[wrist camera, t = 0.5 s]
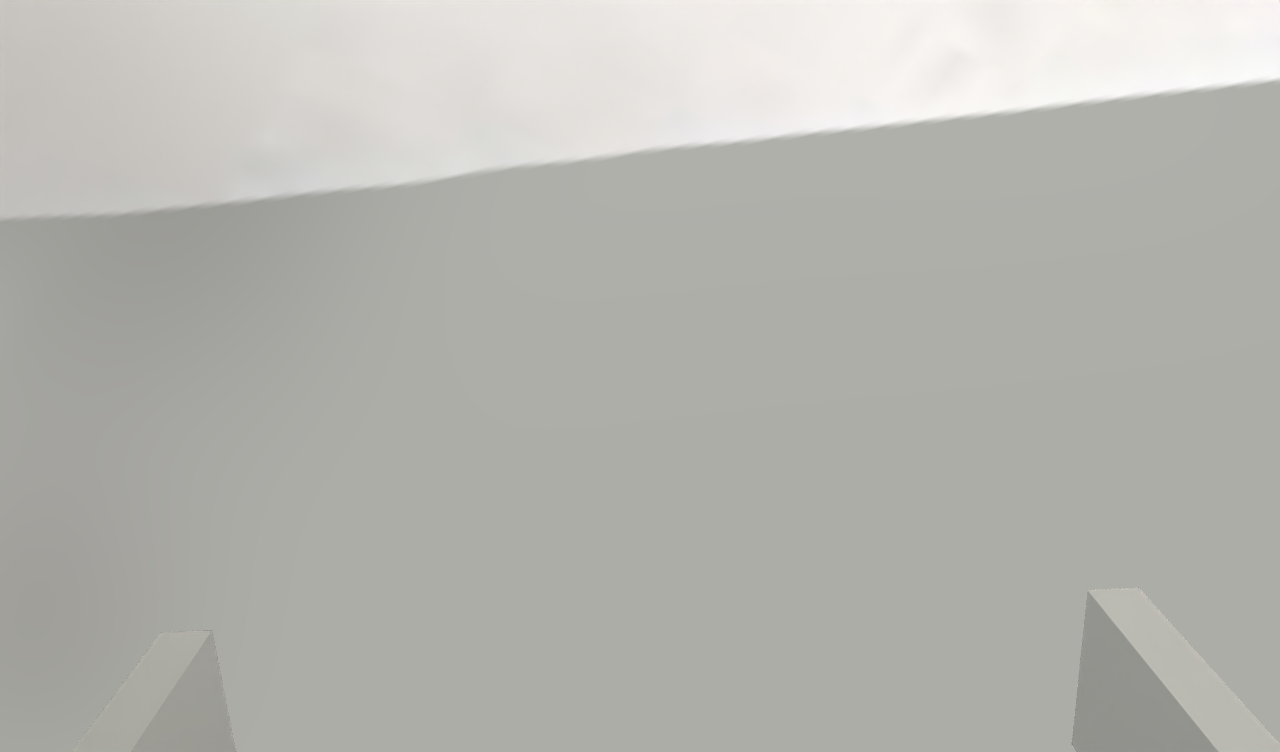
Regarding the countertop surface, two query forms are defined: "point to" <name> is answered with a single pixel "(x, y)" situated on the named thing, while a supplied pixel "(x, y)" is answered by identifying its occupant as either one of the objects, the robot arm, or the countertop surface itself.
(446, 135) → the countertop surface
